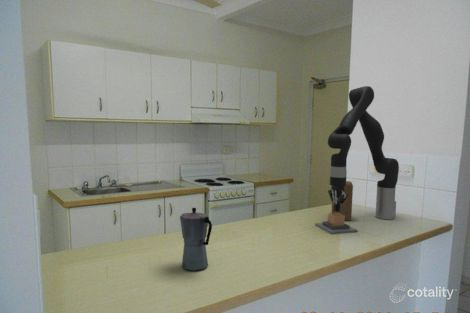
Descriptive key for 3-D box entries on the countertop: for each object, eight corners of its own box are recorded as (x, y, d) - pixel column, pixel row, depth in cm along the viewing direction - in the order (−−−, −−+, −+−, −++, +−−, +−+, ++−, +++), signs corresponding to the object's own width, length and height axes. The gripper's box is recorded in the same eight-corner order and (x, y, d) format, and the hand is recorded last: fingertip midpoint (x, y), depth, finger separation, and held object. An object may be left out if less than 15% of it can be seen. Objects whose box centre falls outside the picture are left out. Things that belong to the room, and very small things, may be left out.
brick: (337, 224, 155) (338, 212, 154) (344, 228, 150) (344, 215, 149) (327, 225, 153) (328, 213, 153) (334, 228, 148) (334, 216, 148)
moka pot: (191, 256, 115) (191, 202, 113) (222, 268, 105) (223, 209, 104) (170, 264, 108) (170, 207, 106) (202, 278, 98) (202, 215, 96)
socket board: (339, 223, 160) (339, 218, 160) (357, 232, 147) (357, 226, 147) (315, 225, 157) (315, 220, 156) (331, 234, 143) (331, 228, 143)
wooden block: (331, 219, 168) (333, 182, 166) (331, 215, 177) (333, 180, 176) (351, 221, 165) (353, 184, 163) (350, 216, 174) (351, 181, 173)
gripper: (353, 177, 144) (352, 214, 146) (336, 173, 157) (335, 207, 158) (339, 178, 142) (338, 215, 144) (323, 174, 155) (322, 208, 156)
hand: (336, 211), depth 151 cm, fingers closed
